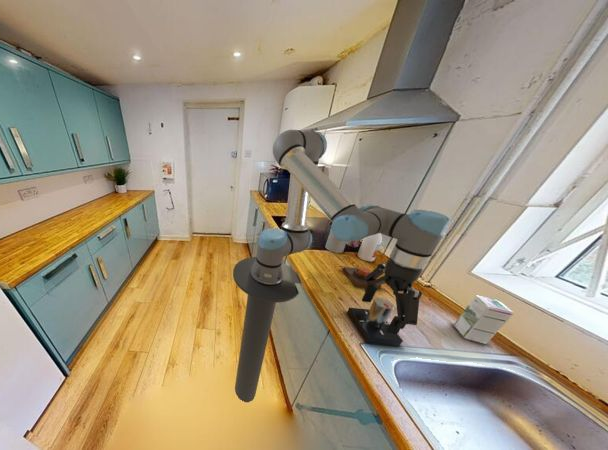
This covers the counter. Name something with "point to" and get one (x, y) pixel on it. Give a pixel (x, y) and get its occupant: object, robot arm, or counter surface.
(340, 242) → the grey cylinder
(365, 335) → the control panel
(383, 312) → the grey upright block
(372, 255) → the milk bottle
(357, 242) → the soda can
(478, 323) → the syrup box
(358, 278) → the dark square plate
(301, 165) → the robot arm
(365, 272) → the dispense button
